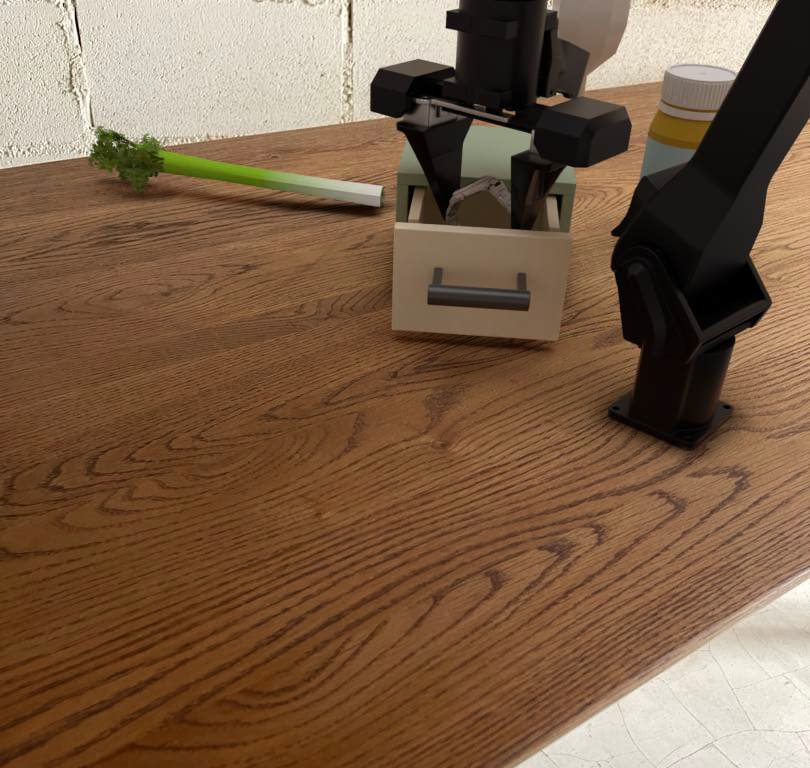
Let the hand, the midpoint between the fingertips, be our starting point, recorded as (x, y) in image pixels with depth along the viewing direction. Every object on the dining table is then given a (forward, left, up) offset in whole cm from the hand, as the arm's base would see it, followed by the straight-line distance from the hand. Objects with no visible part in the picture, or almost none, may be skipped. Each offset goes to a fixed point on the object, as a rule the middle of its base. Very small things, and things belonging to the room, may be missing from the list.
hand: (484, 231), depth 69 cm
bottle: (+25, -3, -7) cm, 26 cm away
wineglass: (+46, +21, -7) cm, 51 cm away
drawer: (-1, 0, -6) cm, 6 cm away
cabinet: (+9, +7, -7) cm, 13 cm away
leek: (+5, +34, -7) cm, 35 cm away
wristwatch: (0, 0, -1) cm, 1 cm away
